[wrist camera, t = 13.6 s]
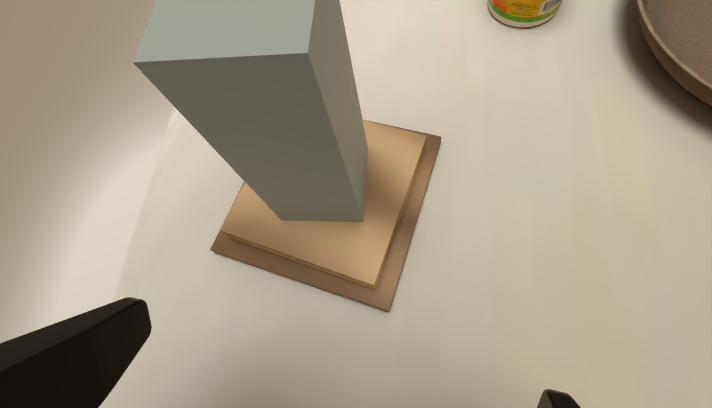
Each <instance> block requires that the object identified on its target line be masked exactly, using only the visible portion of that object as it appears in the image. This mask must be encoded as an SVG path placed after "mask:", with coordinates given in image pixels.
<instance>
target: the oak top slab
mask: <svg viewBox="0 0 712 408" xmlns="http://www.w3.org/2000/svg"><path fill="white" fill-rule="evenodd" d="M363 125H364V131H365V136H366V141H367V146H368V152H367V170H366V188H365V206H364V222H357V221H283V220H281V219H280V218H279V217H278V216H277V215H276V214H275V213H274V212H273V211H272V210H271V209H270V208H269V207H268V206H267V205H266V203H265V202H264V201H263V200H262V199H261V198H260V197H259V196H258V195H257V194H256V193H255V192H254V191H253V190H252V189H251V188H250V186H249V185H248V184H247V183H246V182H245V183H244V185H243V187H242V189H241V191H240V193H239V195H238V197H237V199H236V200H235V202H234V204H233V206H232V208H231V210H230V212H229V214H228V216H227V218H226V219H225V221H224V223H223V225H222V227H221V229H220V231H221V232H223V233H224V234H226V235H227V236H228V237H230V238H232V239H235V240H238V241H241V242H243V243H246V244H249V245H252V246H255V247H257V248H260V249H263V250H266V251H268V252H271V253H274V254H277V255H280V256H282V257H285V258H288V259H291V260H294V261H296V262H299V263H302V264H305V265H308V266H310V267H313V268H316V269H319V270H321V271H324V272H327V273H330V274H333V275H335V276H338V277H341V278H344V279H347V280H349V281H352V282H355V283H358V284H361V285H363V286H366V287H369V288H372V289H374V290H376V288H377V285H378V282H379V279H380V276H381V274H382V271H383V268H384V265H385V262H386V259H387V256H388V254H389V251H390V248H391V245H392V242H393V239H394V236H395V233H396V231H397V228H398V225H399V222H400V219H401V216H402V213H403V210H404V208H405V205H406V202H407V199H408V196H409V193H410V190H411V187H412V185H413V182H414V179H415V176H416V173H417V170H418V167H419V164H420V162H421V159H422V156H423V153H424V150H425V146H426V136H427V135H422V134H418V133H414V132H410V131H406V130H402V129H398V128H394V127H389V126H385V125H381V124H377V123H373V122H369V121H365V120H363Z"/></svg>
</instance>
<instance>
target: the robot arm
mask: <svg viewBox="0 0 712 408" xmlns="http://www.w3.org/2000/svg"><path fill="white" fill-rule="evenodd" d="M151 328H152V326H151V321H150V316H149V311H148V307H147V303H146V302H145V301H144V300H141V299H136V298H132V297H127V298H124V299H121V300H118V301H115V302H113V303H110V304H107V305H105V306H102V307H99V308H96V309H94V310H91V311H88V312H85V313H83V314H80V315H77V316H74V317H72V318H69V319H66V320H63V321H61V322H58V323H55V324H52V325H50V326H47V327H44V328H41V329H39V330H36V331H33V332H30V333H28V334H25V335H22V336H19V337H17V338H14V339H11V340H8V341H6V342H3V343H1V344H0V408H98V407H99V406H100V405H101V404H102V402H103V401H104V400H105V399H106V397H107V396H108V395H109V393H110V392H111V390H112V389H113V388H114V386H115V385H116V383H117V382H118V381H119V379H120V378H121V376H122V375H123V373H124V372H125V370H126V369H127V368H128V366H129V365H130V363H131V362H132V360H133V359H134V357H135V356H136V355H137V353H138V352H139V350H140V349H141V347H142V346H143V344H144V343H145V342H146V340H147V339H148V337H149V335H150V333H151ZM537 408H581V407H580V406H579V405H578V404H577V403H576V402H575V400H574V399H573V398H572V397H571V396H570V395H568V394H567V393H564V392H560V391H555V390H551V389H546V390H544V391H543V393H542V395H541V398H540V401H539V404H538V407H537Z"/></svg>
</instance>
